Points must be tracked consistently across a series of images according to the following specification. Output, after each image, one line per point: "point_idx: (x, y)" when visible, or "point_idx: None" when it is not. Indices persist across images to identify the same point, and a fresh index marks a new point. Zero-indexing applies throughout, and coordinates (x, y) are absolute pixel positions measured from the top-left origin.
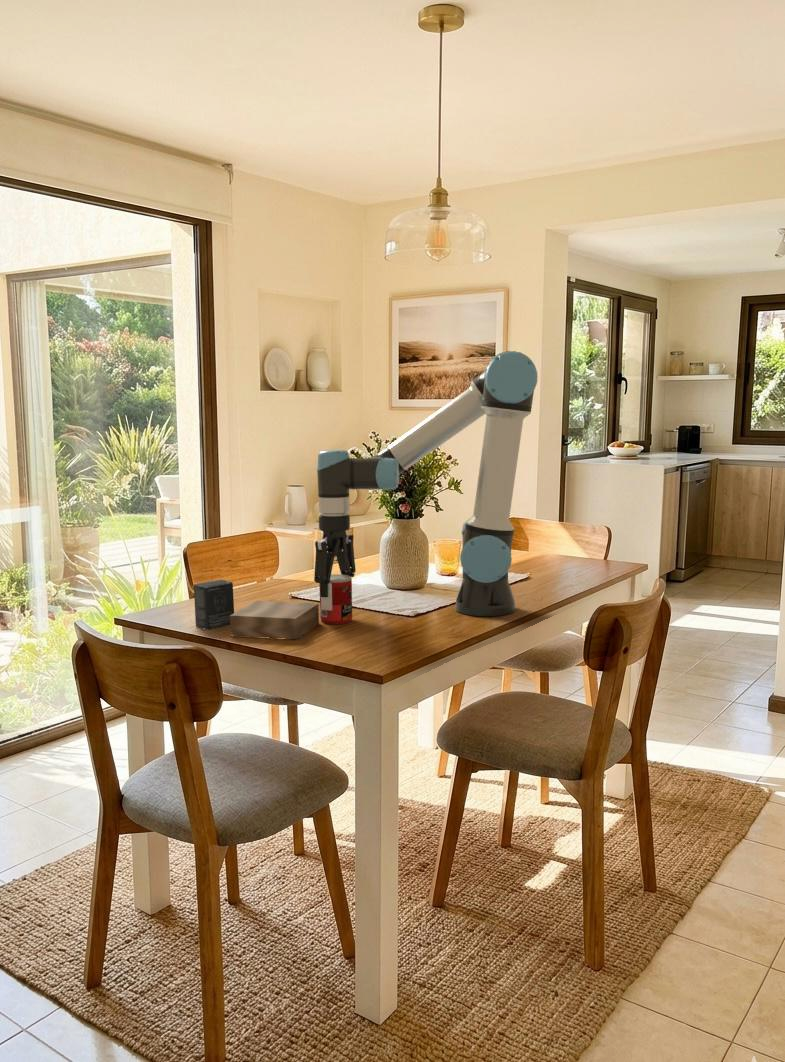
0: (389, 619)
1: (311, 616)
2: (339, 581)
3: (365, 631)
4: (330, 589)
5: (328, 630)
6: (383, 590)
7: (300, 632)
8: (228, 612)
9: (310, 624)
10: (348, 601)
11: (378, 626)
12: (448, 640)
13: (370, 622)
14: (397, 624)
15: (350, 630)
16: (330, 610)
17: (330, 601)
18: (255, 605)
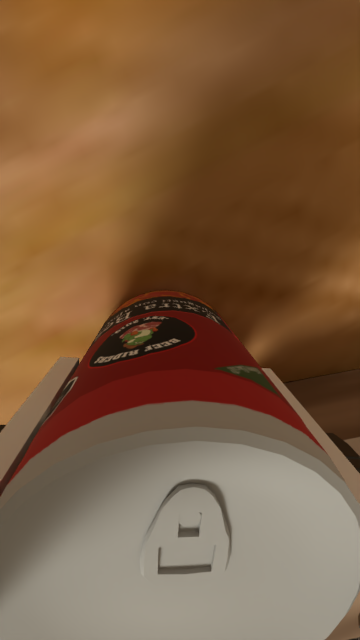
0: (16, 115)
1: (343, 407)
2: (333, 470)
3: (303, 136)
4: (340, 459)
5: (319, 310)
6: None
7: None
8: (353, 638)
9: (338, 386)
10: (194, 317)
11: (188, 110)
12: None
13: (126, 194)
14: (103, 4)
15: (300, 220)
16: (269, 369)
17: (292, 396)
18: (355, 622)
